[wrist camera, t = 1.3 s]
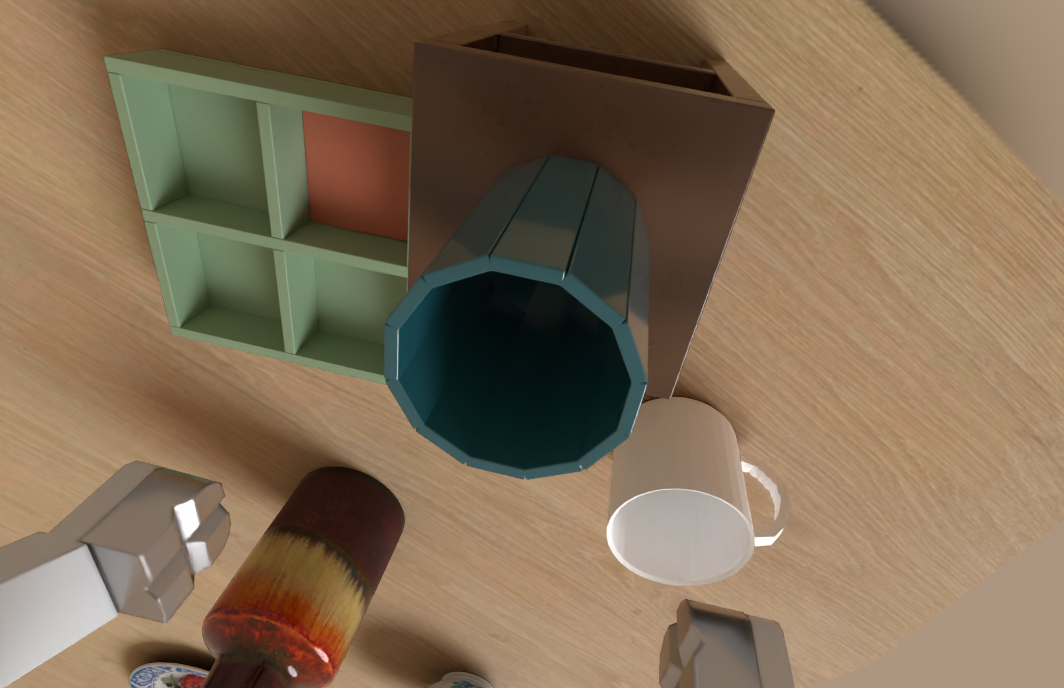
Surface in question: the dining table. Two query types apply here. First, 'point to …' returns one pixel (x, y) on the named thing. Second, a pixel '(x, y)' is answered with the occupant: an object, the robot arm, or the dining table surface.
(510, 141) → the shelf
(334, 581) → the vase
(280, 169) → the tray
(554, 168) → the cup
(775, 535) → the mug
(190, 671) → the ceramic plate
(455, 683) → the chinaware
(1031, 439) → the dining table surface
